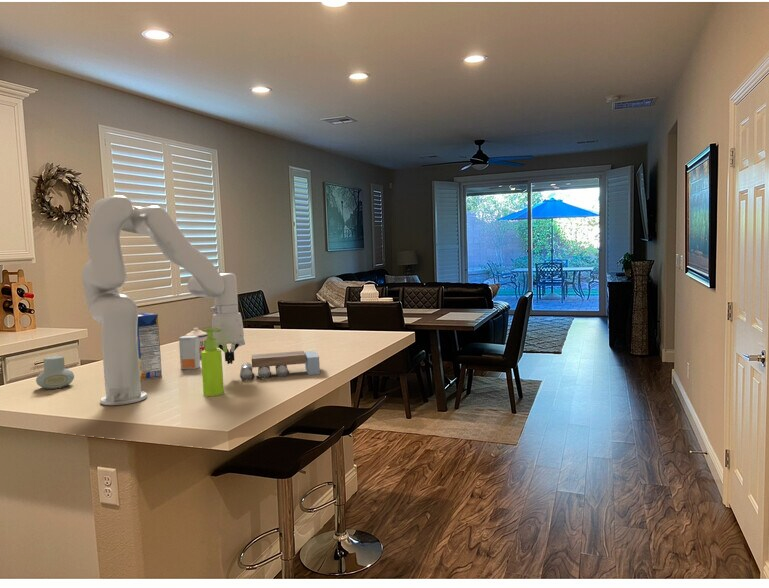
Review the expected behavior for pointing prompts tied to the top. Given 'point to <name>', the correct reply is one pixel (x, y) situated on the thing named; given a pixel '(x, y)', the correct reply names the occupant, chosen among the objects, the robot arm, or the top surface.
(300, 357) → the slab
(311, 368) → the stop block
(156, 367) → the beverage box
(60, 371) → the air freshener
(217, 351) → the soap dispenser
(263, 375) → the roller middle
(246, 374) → the roller
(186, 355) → the skincare box
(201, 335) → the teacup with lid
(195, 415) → the top surface
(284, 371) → the roller
